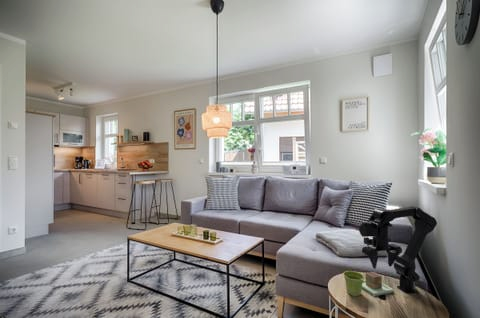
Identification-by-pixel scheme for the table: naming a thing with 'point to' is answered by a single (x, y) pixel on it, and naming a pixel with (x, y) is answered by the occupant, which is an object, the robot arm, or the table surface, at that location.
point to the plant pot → (353, 282)
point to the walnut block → (374, 280)
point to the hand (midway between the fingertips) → (382, 267)
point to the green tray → (376, 292)
